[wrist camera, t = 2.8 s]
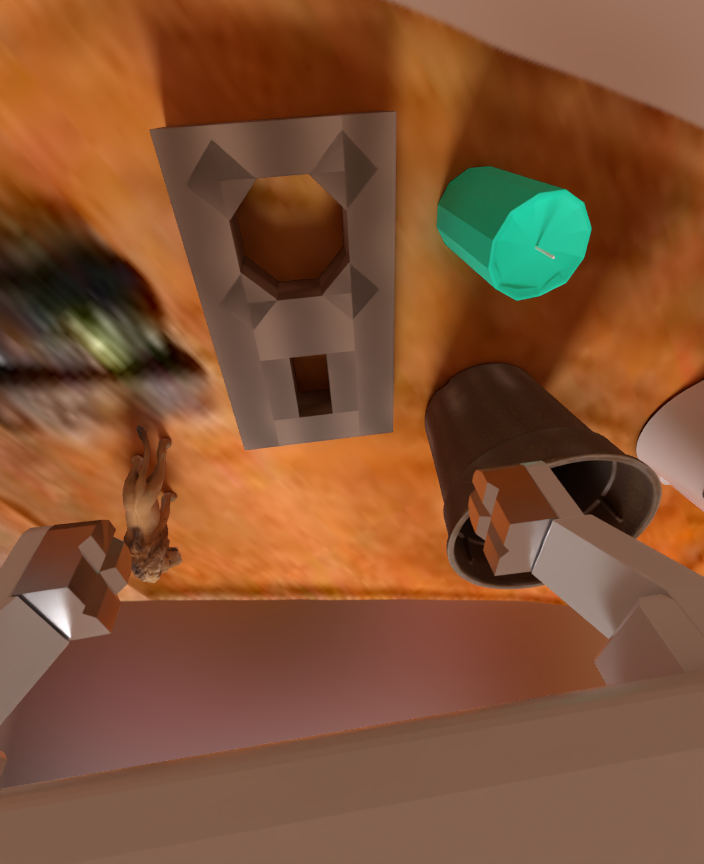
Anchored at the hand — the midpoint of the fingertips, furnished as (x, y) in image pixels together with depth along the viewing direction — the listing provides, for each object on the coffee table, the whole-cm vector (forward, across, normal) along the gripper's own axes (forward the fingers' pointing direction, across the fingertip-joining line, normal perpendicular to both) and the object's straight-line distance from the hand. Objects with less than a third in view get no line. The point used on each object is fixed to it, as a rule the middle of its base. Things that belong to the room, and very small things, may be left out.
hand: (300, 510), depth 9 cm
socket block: (+27, 0, +6) cm, 28 cm away
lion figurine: (+28, +18, +24) cm, 40 cm away
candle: (+27, -14, 0) cm, 31 cm away
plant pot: (+27, -17, +20) cm, 38 cm away
